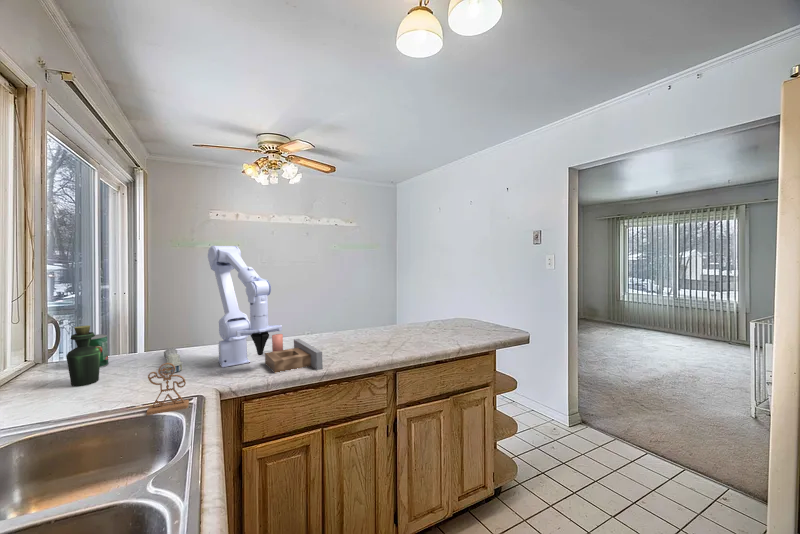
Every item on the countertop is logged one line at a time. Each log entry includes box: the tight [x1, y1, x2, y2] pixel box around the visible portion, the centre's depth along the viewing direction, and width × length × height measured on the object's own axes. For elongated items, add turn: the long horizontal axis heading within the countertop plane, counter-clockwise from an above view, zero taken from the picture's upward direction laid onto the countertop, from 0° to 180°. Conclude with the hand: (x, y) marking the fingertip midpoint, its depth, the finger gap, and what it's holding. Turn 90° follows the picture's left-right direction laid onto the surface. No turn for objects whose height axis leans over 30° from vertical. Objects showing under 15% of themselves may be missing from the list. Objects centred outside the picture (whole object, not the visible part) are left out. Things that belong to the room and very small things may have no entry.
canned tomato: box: [89, 333, 110, 369], centre depth 128 cm, size 8×8×11 cm
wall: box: [293, 338, 323, 371], centre depth 129 cm, size 2×24×6 cm, turn 35°
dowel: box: [271, 333, 284, 352], centre depth 138 cm, size 4×4×8 cm
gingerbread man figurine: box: [145, 362, 190, 416], centre depth 90 cm, size 9×4×12 cm, turn 116°
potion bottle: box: [66, 325, 101, 388], centre depth 110 cm, size 8×8×18 cm
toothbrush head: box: [163, 347, 184, 374], centre depth 128 cm, size 5×7×25 cm
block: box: [264, 347, 312, 373], centre depth 125 cm, size 12×12×4 cm
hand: (260, 354), depth 120 cm, fingers closed
